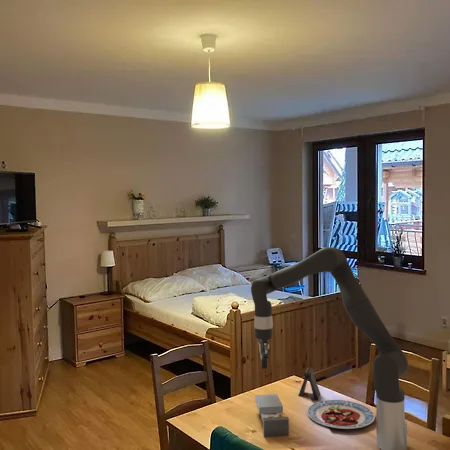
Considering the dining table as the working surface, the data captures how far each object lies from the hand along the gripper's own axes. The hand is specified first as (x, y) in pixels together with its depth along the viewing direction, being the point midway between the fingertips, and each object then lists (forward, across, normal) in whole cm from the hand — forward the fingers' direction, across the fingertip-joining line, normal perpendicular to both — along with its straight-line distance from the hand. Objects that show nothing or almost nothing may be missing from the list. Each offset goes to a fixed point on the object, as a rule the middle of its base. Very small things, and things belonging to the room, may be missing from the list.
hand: (264, 367), depth 204 cm
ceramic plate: (+18, -12, -28) cm, 35 cm away
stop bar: (+17, -25, 0) cm, 31 cm away
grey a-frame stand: (+17, +10, -21) cm, 29 cm away
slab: (+12, -10, 0) cm, 16 cm away
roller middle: (+16, -14, 0) cm, 22 cm away
